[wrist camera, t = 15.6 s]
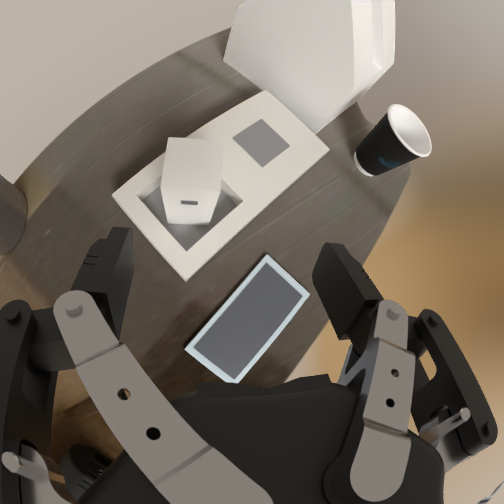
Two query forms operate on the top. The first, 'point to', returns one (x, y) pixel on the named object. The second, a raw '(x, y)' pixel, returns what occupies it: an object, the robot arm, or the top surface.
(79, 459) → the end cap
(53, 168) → the top surface
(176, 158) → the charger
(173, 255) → the outlet strip
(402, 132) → the dixie cup
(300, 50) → the milk carton
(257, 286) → the phone
